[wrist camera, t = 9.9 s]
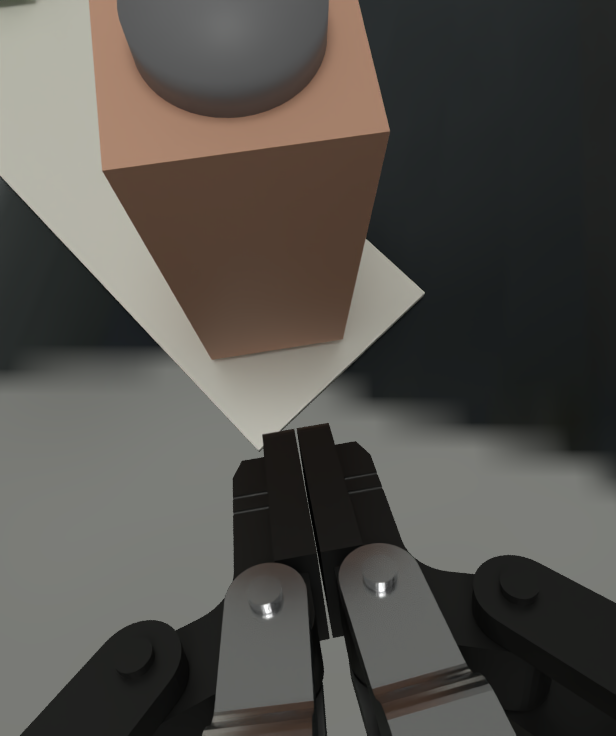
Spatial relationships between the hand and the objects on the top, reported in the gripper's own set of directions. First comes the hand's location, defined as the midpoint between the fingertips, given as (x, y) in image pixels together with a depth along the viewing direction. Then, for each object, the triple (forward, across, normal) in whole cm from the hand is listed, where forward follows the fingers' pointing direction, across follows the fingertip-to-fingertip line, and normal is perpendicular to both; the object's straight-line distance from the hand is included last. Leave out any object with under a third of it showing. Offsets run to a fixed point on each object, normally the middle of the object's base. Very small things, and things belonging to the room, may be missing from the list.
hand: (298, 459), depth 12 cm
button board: (+16, +6, -5) cm, 18 cm away
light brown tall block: (+11, 0, 0) cm, 11 cm away
